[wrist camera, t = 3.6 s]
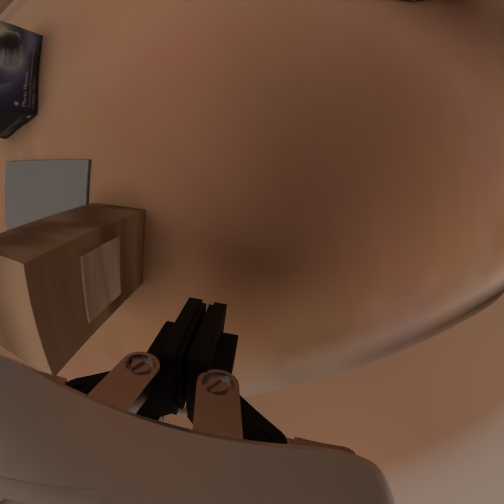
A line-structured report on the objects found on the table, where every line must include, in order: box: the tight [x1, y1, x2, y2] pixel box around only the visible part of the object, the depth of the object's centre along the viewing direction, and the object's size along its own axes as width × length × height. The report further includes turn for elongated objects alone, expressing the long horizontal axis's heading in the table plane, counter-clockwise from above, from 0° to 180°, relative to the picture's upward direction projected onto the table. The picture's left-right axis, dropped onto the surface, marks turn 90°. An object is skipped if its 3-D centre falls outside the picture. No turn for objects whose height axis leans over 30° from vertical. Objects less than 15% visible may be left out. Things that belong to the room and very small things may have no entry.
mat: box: [5, 160, 91, 231], centre depth 20 cm, size 13×13×1 cm
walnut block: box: [0, 203, 145, 376], centre depth 14 cm, size 5×6×12 cm
